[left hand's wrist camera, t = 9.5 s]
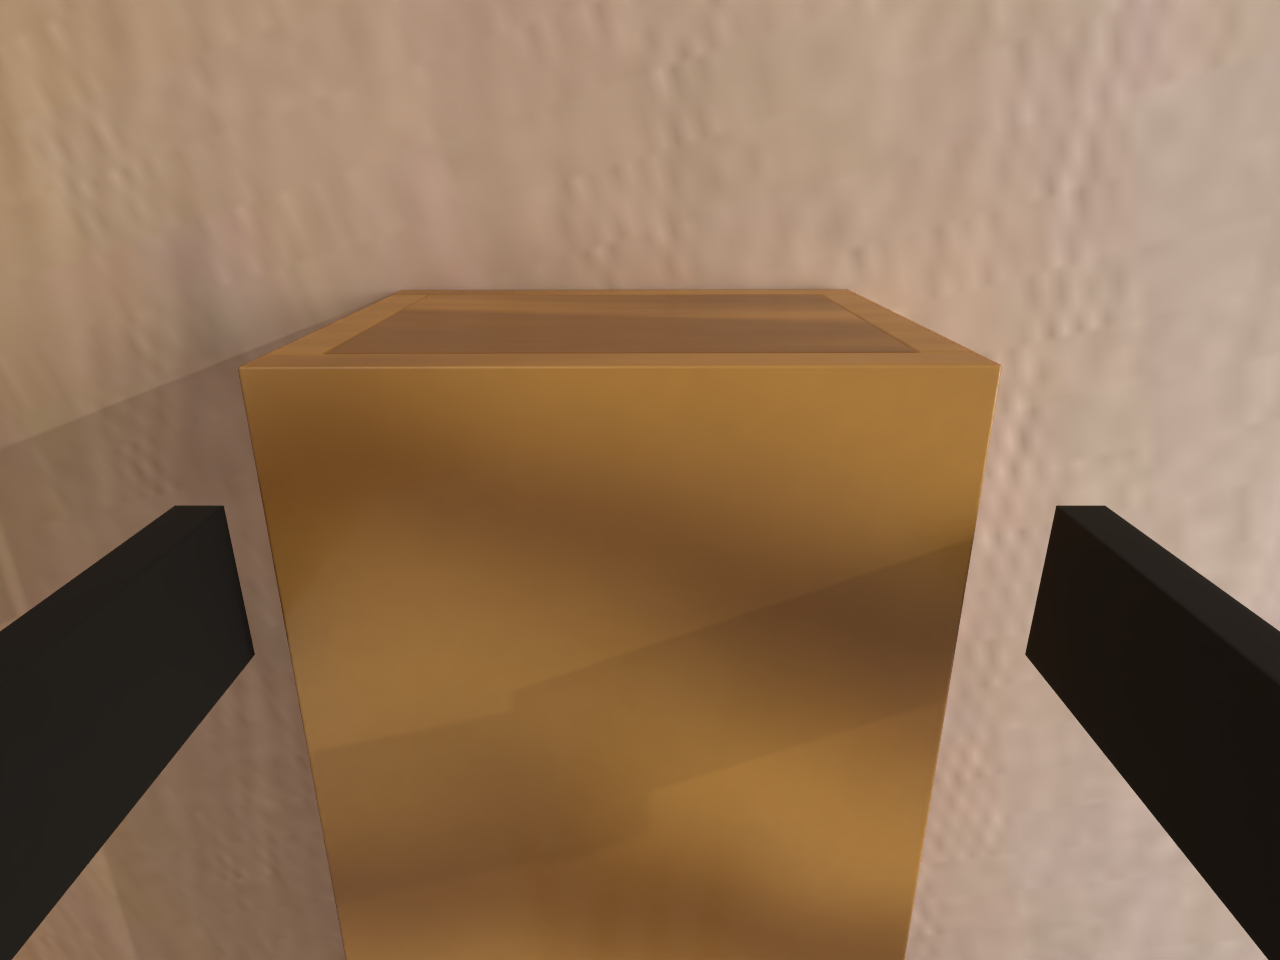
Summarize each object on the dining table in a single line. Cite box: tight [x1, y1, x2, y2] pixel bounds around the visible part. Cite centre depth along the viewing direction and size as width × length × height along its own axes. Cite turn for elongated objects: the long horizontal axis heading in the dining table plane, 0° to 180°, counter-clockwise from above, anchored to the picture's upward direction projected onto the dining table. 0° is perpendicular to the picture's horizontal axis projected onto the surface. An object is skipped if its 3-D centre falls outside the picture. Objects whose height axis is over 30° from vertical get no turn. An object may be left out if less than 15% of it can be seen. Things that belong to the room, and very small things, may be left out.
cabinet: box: [238, 289, 1001, 960], centre depth 19 cm, size 22×11×8 cm, turn 0°
